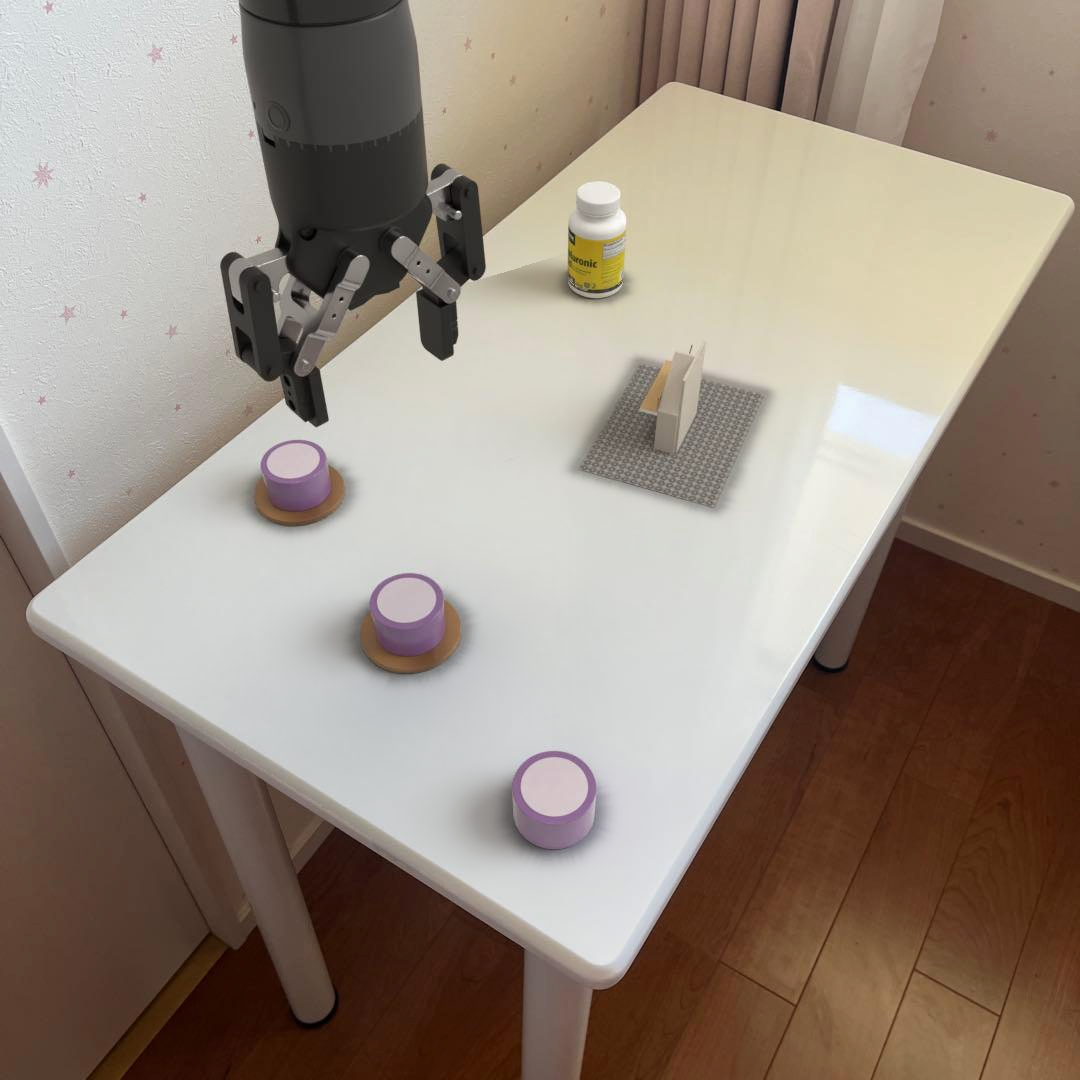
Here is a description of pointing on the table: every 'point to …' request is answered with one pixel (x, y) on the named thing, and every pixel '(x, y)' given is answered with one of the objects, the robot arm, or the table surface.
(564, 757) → the purple rimmed puck
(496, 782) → the table surface
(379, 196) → the robot arm
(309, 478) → the purple short cylinder
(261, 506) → the coaster far
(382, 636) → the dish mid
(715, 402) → the architectural model
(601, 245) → the supplement bottle
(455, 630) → the brown wooden coaster
